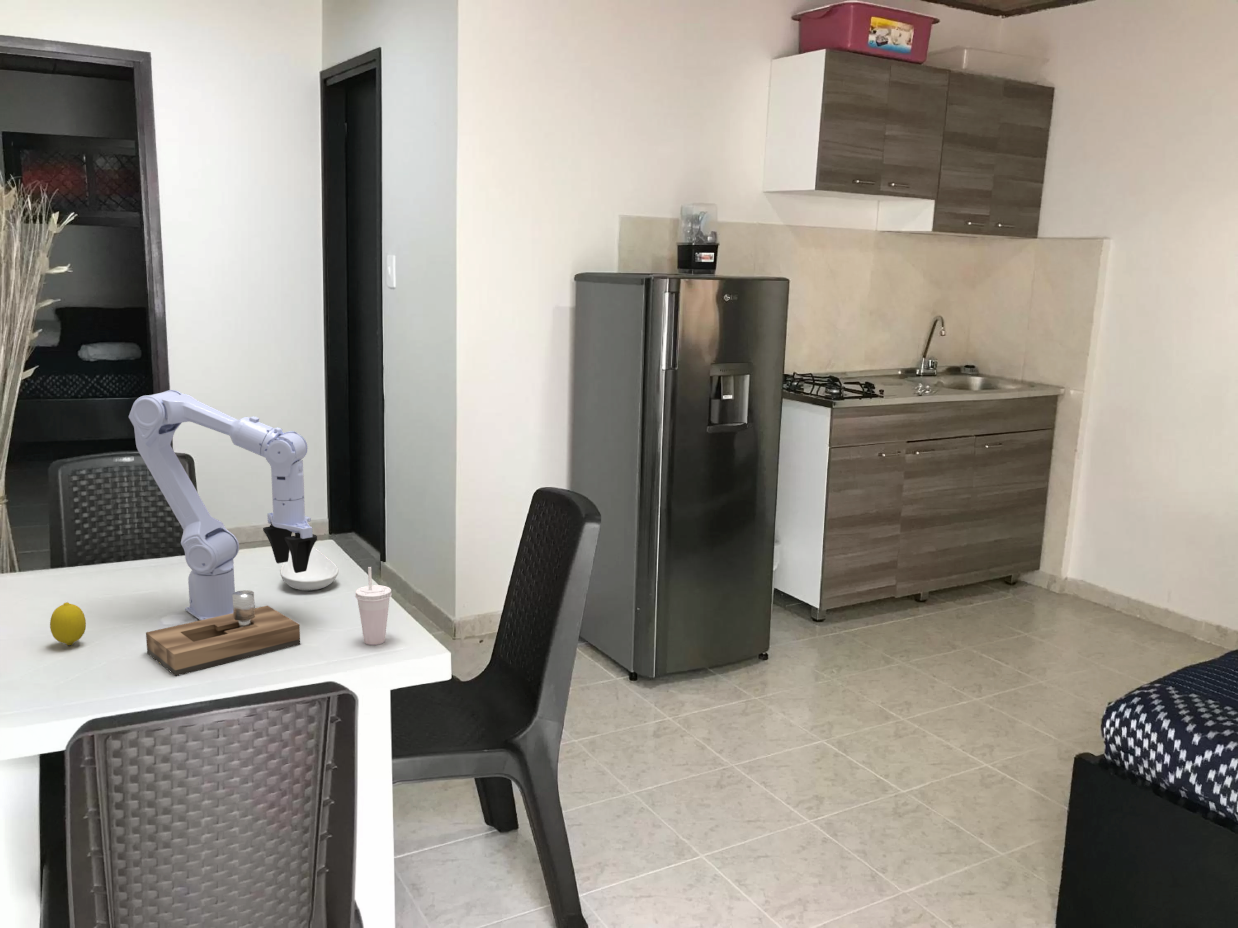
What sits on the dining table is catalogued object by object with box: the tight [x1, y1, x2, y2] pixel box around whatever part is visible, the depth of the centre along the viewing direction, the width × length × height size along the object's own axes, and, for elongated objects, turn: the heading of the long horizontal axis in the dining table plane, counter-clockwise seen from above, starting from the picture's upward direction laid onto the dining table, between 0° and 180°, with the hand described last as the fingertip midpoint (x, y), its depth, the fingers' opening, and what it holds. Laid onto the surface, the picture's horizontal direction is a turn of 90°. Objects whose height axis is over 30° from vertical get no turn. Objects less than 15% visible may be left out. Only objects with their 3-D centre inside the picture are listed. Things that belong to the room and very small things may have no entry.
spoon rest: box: [279, 546, 339, 592], centre depth 220 cm, size 24×12×7 cm, turn 27°
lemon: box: [49, 601, 87, 646], centre depth 179 cm, size 6×6×8 cm
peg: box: [232, 589, 256, 628], centre depth 182 cm, size 5×5×8 cm
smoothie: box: [354, 566, 392, 646], centre depth 184 cm, size 6×6×14 cm
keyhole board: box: [145, 605, 301, 676], centre depth 180 cm, size 13×22×4 cm, turn 133°
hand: (291, 566), depth 194 cm, fingers open, 7 cm apart
